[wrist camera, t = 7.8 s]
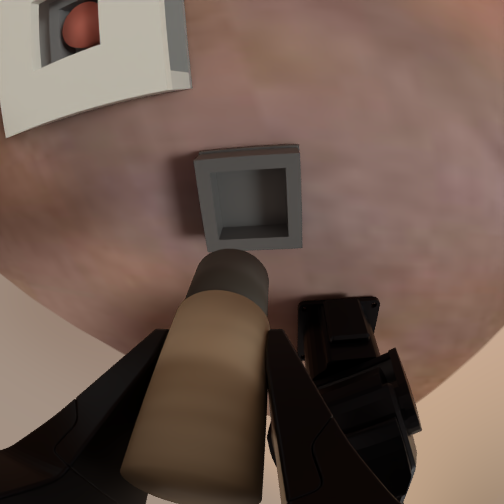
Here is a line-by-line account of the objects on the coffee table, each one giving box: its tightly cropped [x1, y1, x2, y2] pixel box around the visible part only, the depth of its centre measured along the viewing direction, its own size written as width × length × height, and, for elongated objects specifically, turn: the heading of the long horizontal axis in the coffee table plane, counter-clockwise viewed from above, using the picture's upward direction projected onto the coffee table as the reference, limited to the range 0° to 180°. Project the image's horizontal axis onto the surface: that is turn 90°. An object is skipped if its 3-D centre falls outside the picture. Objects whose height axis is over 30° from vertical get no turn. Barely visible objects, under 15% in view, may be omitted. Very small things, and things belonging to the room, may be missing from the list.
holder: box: [194, 144, 302, 252], centre depth 19 cm, size 6×6×2 cm
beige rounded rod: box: [120, 249, 270, 504], centre depth 8 cm, size 3×3×8 cm
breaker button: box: [62, 2, 100, 49], centre depth 13 cm, size 3×3×2 cm
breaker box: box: [0, 0, 192, 138], centre depth 13 cm, size 11×11×5 cm
